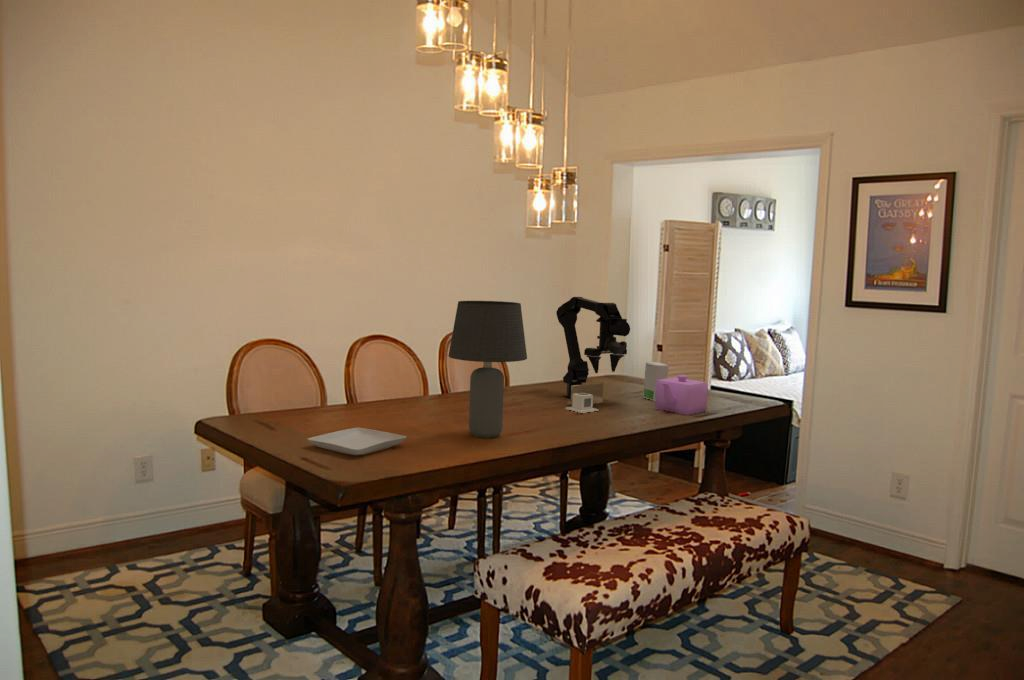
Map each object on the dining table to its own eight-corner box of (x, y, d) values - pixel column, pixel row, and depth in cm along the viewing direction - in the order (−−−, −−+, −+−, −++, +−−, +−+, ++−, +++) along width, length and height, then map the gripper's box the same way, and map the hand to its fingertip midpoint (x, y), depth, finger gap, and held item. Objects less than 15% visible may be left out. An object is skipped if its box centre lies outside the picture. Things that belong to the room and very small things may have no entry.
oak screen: (567, 404, 304) (568, 384, 303) (596, 401, 314) (597, 382, 313) (575, 406, 300) (576, 386, 299) (605, 403, 310) (606, 384, 309)
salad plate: (305, 448, 222) (305, 437, 222) (357, 436, 240) (357, 425, 239) (357, 461, 210) (357, 449, 210) (408, 447, 228) (408, 436, 228)
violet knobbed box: (643, 411, 296) (645, 375, 295) (681, 404, 313) (682, 370, 312) (676, 417, 285) (678, 380, 284) (713, 410, 302) (715, 375, 301)
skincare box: (642, 398, 325) (644, 362, 324) (655, 397, 328) (657, 361, 326) (654, 401, 318) (656, 364, 316) (667, 400, 320) (669, 364, 319)
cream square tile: (565, 409, 294) (565, 407, 294) (582, 407, 299) (583, 405, 299) (581, 413, 286) (581, 411, 286) (598, 411, 292) (598, 409, 292)
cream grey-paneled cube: (572, 407, 293) (572, 393, 293) (582, 406, 296) (583, 392, 296) (582, 410, 289) (582, 395, 288) (592, 409, 292) (593, 394, 291)
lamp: (430, 434, 244) (433, 300, 240) (485, 423, 263) (488, 299, 259) (485, 448, 228) (490, 305, 223) (540, 436, 246) (545, 304, 242)
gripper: (603, 336, 293) (601, 376, 294) (637, 335, 304) (635, 373, 305) (584, 333, 302) (582, 372, 303) (617, 332, 313) (616, 370, 314)
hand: (604, 372), depth 306 cm, fingers open, 9 cm apart
